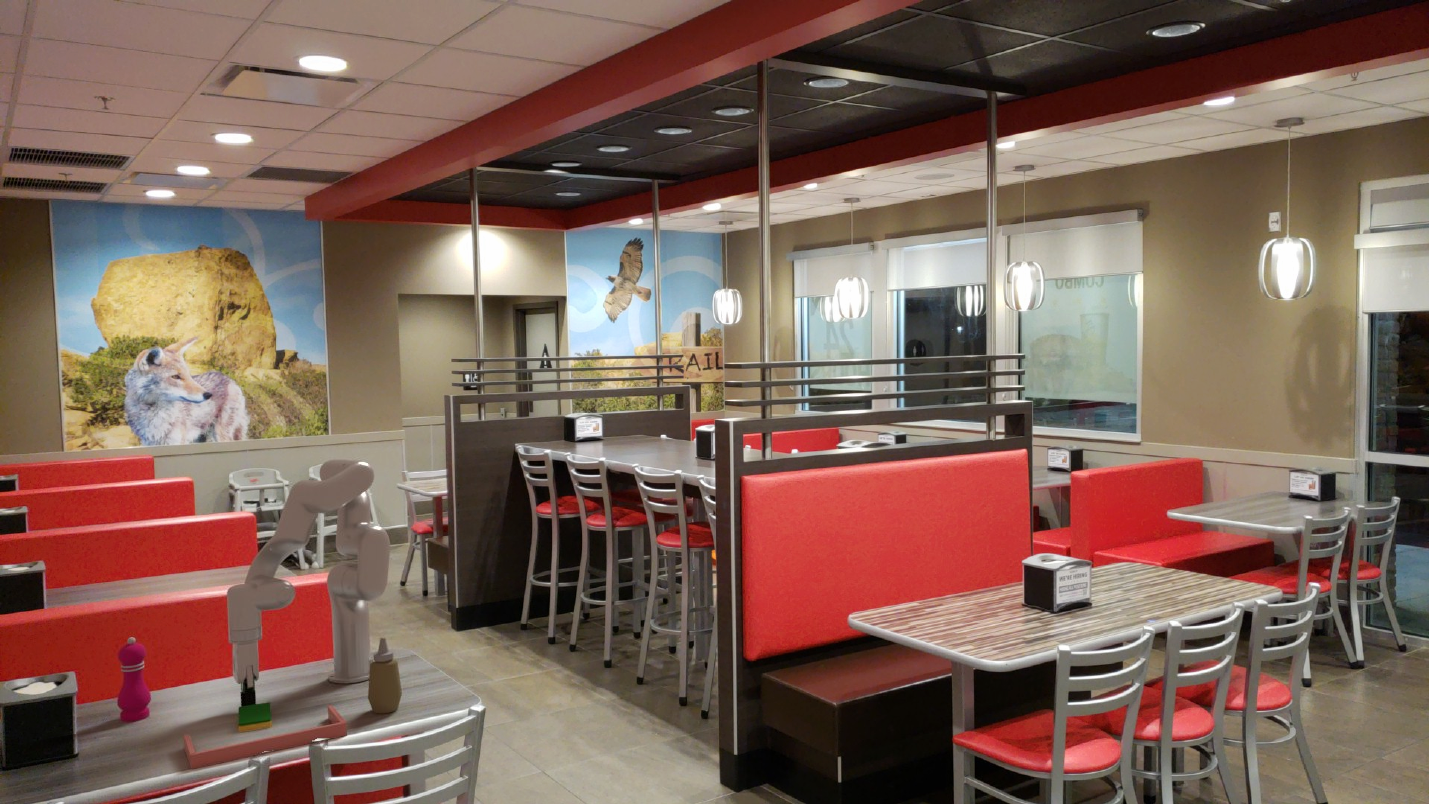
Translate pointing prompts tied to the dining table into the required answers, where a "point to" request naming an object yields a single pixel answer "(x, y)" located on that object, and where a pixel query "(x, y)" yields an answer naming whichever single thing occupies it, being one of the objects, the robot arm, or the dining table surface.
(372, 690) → the squeeze bottle
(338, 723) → the pink u-shaped bracket
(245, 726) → the dish sponge
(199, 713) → the dining table surface
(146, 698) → the pepper mill
